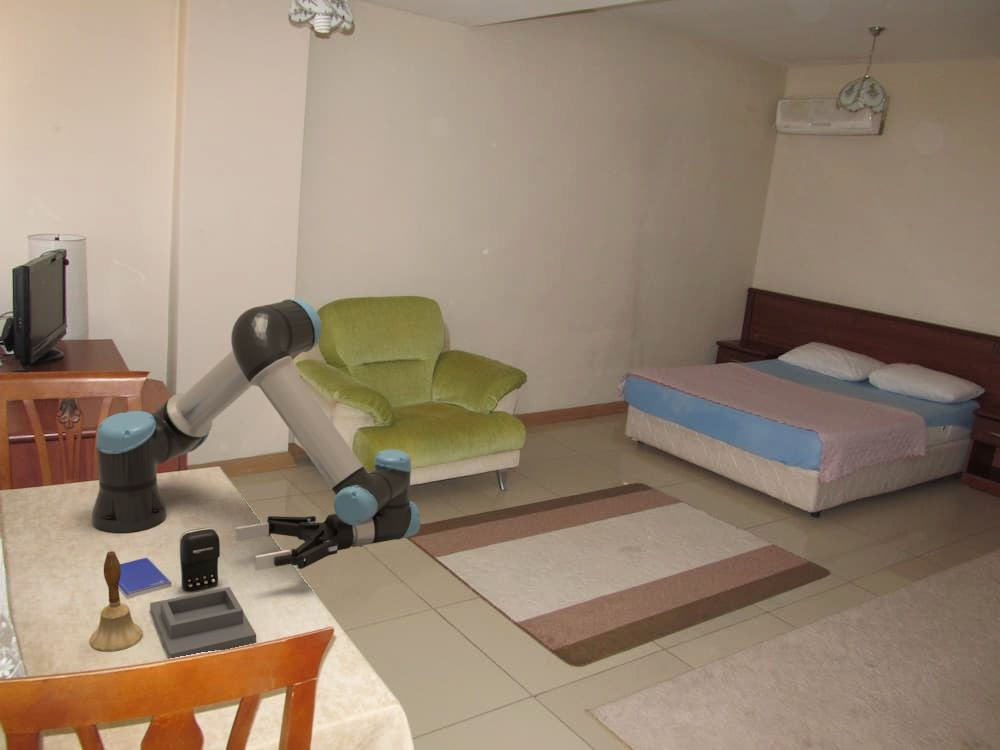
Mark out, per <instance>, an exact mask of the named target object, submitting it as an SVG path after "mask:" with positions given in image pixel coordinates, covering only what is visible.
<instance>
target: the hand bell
mask: <svg viewBox="0 0 1000 750" xmlns="http://www.w3.org/2000/svg"><path fill="white" fill-rule="evenodd" d="M120 564H121V563H120V561H119V559H118V556H117V554H116V552H115V551H107V552H106V557H105V559H104V564H103V576H104V580H105V583H106V584H107V585H106V586H107V587H108V603H109V605H107V606H105V607H103V608H102V610H101V612H100V619H99V624H98V627H97V629H96V630H95V631H94V632H93V633H92V634H91V636H90V638H89V645H90V646H91V647H92V648H93V649H95V650H97V651H99V652H100V651H101V652H117V651H122V650H126V649H128V648H130V647H133V646H135V645H136V644H138V643H139V641H141V639H142V638H143V635H144V631H143V629H142V627H141V626H140V625H138V624H137V623H135V622H134V621H133V617H132V615H131V609H130V607H129V605H127V604H126V603H121V598H120V589H119V588H118V585H119V581H120V576H121V568H120Z"/></svg>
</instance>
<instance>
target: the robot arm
mask: <svg viewBox="0 0 1000 750" xmlns="http://www.w3.org/2000/svg"><path fill="white" fill-rule="evenodd" d="M322 326H323V325H322V321H321V318H320V316H319V314H318V312H317V311H316V309H315V308H314V307H313V306H312V305H311V304H310V303H309V302H307V301H305V300H302V299H298V298H297V299H296V298H294V299H292V298H289V299H288V298H287V299H284V300H282V301H279V302H274V303H269V304H265V305H260V306H254V307H251V308H248V309H247V310H245V311H244V312H242V314H240V315H239V317H238V318H237V319H236V321H235V322H234V324H233V326H232V327H233V328H232V331H231V335H230V336H231V337H230V338H231V339H230V340H231V351H230V352H229V353H227V355H225V356H224V357H223V358H222V359H221V360H220V361H219V362H217V364H216V365H215V366H213V367H212V368H211V369H210V370H209V371H208V372H207V373H206V374H205V375H204V376H203V377H202V378H200V379H199V380H198V381H197V382H196V383H195V384H194V385H193V386H192V387H191V388H189V389H188V390H187V391H186V392H185V393H176V394H174V395H171V397H170V398H168V399H167V400H166V401H165V402H164V403H163V404H161V406H160V407H159V408H157V409H156V410H153V411H152V412H147V411H142V410H131V411H130V410H129V411H126V412H118V413H115V414H112V415H110V416H108V417H106V418H105V419H103V420H102V421H101V422H100V424H99V425H98V427H97V433H96V434H97V435H96V436H97V437H96V442H95V444H96V449H97V452H96V453H97V464H98V466H97V467H98V480H99V481H98V483H99V489H98V493H97V495H96V499H95V503H94V505H93V509H92V512H91V516H92V517H91V518H92V519H91V520H92V525H93V526H94V527H95V528H96V529H98V530H101V531H105V532H109V533H110V532H111V533H132V532H133V533H134V532H139V531H144V530H147V529H150V528H153V527H155V526H158V525H160V524H161V523H162V522H164V520H165V519H166V518H167V506H166V503H165V499H164V497H163V496H162V493H161V490H160V488H159V486H158V479H157V477H158V476H157V466H159V465H161V464H163V463H165V462H169V461H170V460H172V459H175V458H177V457H180V456H182V455H184V454H187V453H190V452H192V451H193V452H194V451H195V450H197V449H198V448H199V447H200V446H202V445H203V444H204V443H205V442H206V441H207V439H208V436H209V434H210V431H211V429H212V426H213V421H214V419H216V418H218V416H219V415H221V414H222V412H224V411H226V409H227V408H228V407H230V406H231V405H232V404H233V403H234V402H235V401H236V400H238V399H239V398H240V397H241V396H243V394H245V392H247V391H248V390H249V389H251V387H252V386H255V387H258V388H259V389H260V390H261V391H262V393H263V394H264V396H265V397H266V398H267V400H268V401H269V403H270V405H272V407H273V408H274V409H275V411H276V412H277V414H278V415H279V417H280V419H282V421H283V422H284V424H285V425H286V426H287V428H288V429H289V430H290V432H291V434H292V435H293V437H294V438H295V439H296V441H297V442H298V443H299V445H300V446H301V447H302V449H303V450H304V451H305V452H304V453H306V455H307V456H308V457H309V459H310V460H311V462H312V463H313V464H314V466H315V467H316V468H317V470H318V471H319V473H320V474H321V476H322V477H323V479H324V480H325V481H326V482H327V484H328V486H330V488H331V490H332V491H333V493H334V494H335V496H334V499H333V507H334V513H331V514H328V515H327V516H326V518H325V520H324V521H323V522H317V521H316V520H317V517H316V516H313V515H312V516H281V515H279V516H276V515H275V516H274V515H273V516H267V520H266V522H262V523H255V524H249V525H244V526H238V527H235V541H236V542H242V541H246V540H253V539H258V538H259V539H260V538H265V537H270V536H271V535H280V536H286V537H293V538H295V537H296V538H297V539H298V540H300V541H303V543H301V544H300V545H299V546H298V547H296V548H291V550H290V549H286V550H285V549H284V550H279V551H273V552H269V553H263V554H258V555H254V559H255V561H254V570H255V571H256V572H257V571H261V570H265V569H266V570H267V569H271V568H277V567H282V566H283V567H284V566H286V565H292V566H297V569H299V570H303V569H305V568H307V567H309V566H311V565H312V564H315V563H317V562H318V561H320V560H322V559H324V558H326V557H328V556H331V555H336V554H338V551H342V550H348V549H350V548H351V547H352V548H356V547H359V548H362V547H363V546H367V545H372V544H378V543H385V542H389V541H395V540H396V541H399V540H401V539H405V538H409V537H412V536H414V535H416V534H417V533H418V532H419V530H420V528H421V517H420V515H421V514H420V509H419V507H418V506H417V505H416V503H415V502H413V501H410V492H411V491H410V490H411V477H412V475H411V474H412V465H411V463H412V461H411V460H412V459H411V456H410V454H408V453H407V452H405V451H403V450H399V449H386V450H385V449H384V450H381V451H379V452H377V453H376V456H375V458H374V463H373V466H374V469H373V470H371V471H369V472H368V471H367V470H366V468H365V467H364V465H363V464H362V462H360V460H359V459H358V457H357V455H355V452H354V451H353V450H352V448H351V447H350V446H349V444H348V443H347V441H346V440H345V439H344V437H343V436H342V435H341V433H340V431H339V430H338V429H337V428H336V426H335V424H334V423H333V422H332V421H331V419H330V418H329V416H328V415H327V413H326V412H325V410H324V409H323V408H322V407H321V405H320V404H319V402H318V400H317V399H316V398H315V396H314V395H313V394H312V392H311V391H310V389H309V388H308V386H307V385H306V384H305V382H304V381H303V379H302V378H301V377H300V375H299V374H298V372H297V371H296V370H295V369H294V367H293V365H292V361H293V360H294V359H295V358H296V357H297V356H299V355H300V354H302V353H307V352H309V351H311V350H312V349H314V348H315V347H316V346H317V345H318V344H319V342H321V341H320V340H321V338H322V333H323V332H322Z"/></svg>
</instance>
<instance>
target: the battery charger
mask: <svg viewBox="0 0 1000 750" xmlns="http://www.w3.org/2000/svg"><path fill="white" fill-rule="evenodd" d="M220 545H221V544H220V538H219V535H218V533H217V531H216V529H214V528H213V527H203V528H198V529H197V528H196V529H192V530H187V531H184V532H183V533H182V534H181V536H180V538H179V562H180V574H181V575H180V576H181V578H180V579H181V583H180V586H181V587H182V589H183V590H184V591H187V592H193V591H199V590H203V589H207V588H211V587H212V588H213V587H214V586H217V585H218V584H219V572H218V570H219V567H218V566H219V558H220V556H221V547H220Z"/></svg>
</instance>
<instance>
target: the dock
mask: <svg viewBox="0 0 1000 750" xmlns="http://www.w3.org/2000/svg"><path fill="white" fill-rule="evenodd" d="M149 607H150V608H149V610H150V613H151V616H152V618H153V621H154V624H155V626H156V628H157V631H158V633H159V635H160V638H161V642H162V643H163V646H164V649H165V651H166V654H167V656H168V659H169V658H175V657H180V656H186V655H191V654H196V653H201V652H208V651H215V650H221V651H223V650H222V649H225V650H229V649H232V647H234V648H237V646H238V647H242V646H245V645H251V644H254V643H257V633H256V631H255V629H254V628H253V627H252V625H251V623H250V621H249V620H248V618H247V616H246V614H245V613H244V609H243V607H242V606H241V604H240V602H239V601H238V599H237V597H236V596H235V594H234V592H233V591H232V589H231V587H230V586H228V587H223V588H218V589H213V590H208V591H202V592H199V593H193V594H188V595H183V596H177V597H174V598H168V599H167V598H166V599H163V600H158V601H153V602H152V601H151V602H150V603H149ZM251 642H252V643H251ZM241 645H242V646H241ZM228 648H229V649H228Z"/></svg>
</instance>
